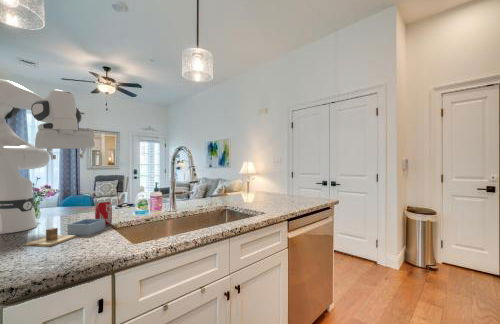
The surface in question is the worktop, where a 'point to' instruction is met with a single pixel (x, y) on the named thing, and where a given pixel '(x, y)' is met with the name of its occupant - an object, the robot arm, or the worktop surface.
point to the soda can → (104, 211)
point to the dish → (86, 227)
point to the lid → (50, 238)
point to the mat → (54, 245)
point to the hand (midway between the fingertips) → (67, 158)
